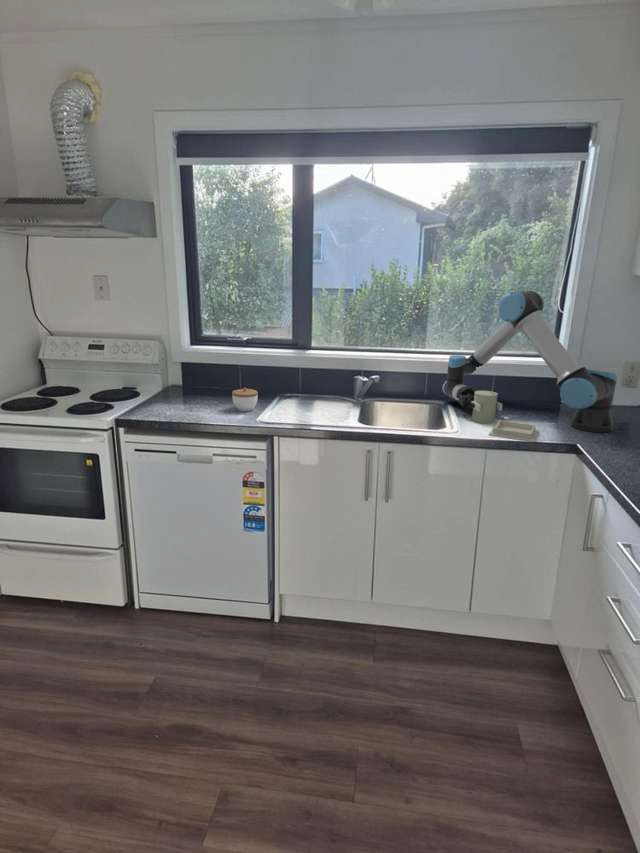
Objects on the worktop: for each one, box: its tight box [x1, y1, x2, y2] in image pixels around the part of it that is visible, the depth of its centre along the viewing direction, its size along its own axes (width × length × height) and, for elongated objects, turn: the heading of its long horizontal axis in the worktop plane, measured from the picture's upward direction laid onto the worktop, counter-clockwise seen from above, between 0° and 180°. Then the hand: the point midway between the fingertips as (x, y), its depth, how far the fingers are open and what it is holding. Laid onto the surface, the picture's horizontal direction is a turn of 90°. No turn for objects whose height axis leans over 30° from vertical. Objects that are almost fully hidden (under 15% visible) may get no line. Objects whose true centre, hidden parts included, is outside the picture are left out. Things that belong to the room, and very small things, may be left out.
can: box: [471, 390, 499, 424], centre depth 221 cm, size 9×9×12 cm
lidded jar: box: [231, 387, 259, 412], centre depth 228 cm, size 11×11×9 cm
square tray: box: [488, 419, 540, 443], centre depth 206 cm, size 16×16×2 cm
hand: (490, 407), depth 216 cm, fingers closed on can, 9 cm apart
